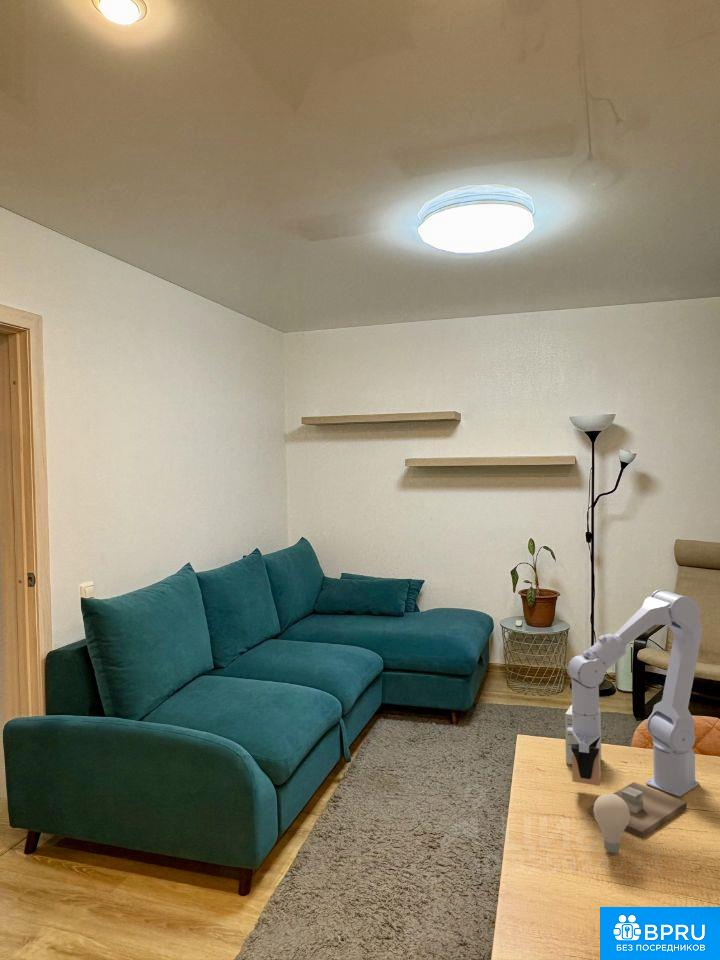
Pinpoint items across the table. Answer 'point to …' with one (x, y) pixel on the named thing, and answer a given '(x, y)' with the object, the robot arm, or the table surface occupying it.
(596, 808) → the light bulb
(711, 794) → the table surface
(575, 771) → the duct sleeve
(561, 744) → the table surface
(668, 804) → the duct board
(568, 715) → the supplement box
